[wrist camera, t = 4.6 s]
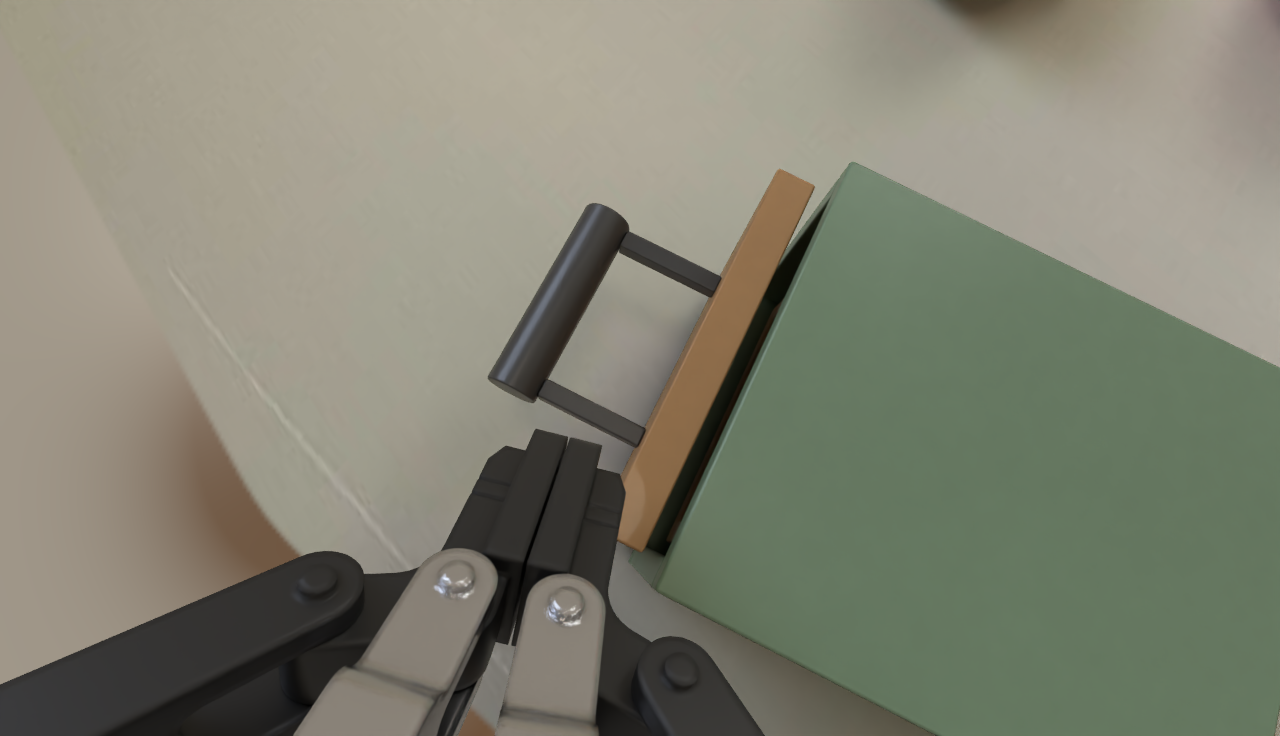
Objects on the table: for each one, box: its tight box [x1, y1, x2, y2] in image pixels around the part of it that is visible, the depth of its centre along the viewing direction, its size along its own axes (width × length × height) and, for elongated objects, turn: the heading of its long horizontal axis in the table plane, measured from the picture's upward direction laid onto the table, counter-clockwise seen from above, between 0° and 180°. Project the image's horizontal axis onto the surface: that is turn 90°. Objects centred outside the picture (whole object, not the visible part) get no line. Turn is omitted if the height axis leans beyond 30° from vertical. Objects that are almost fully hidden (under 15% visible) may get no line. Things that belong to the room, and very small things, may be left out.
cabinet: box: [629, 162, 1280, 736], centre depth 20 cm, size 15×13×10 cm
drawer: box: [488, 169, 815, 552], centre depth 20 cm, size 18×11×8 cm, turn 64°
